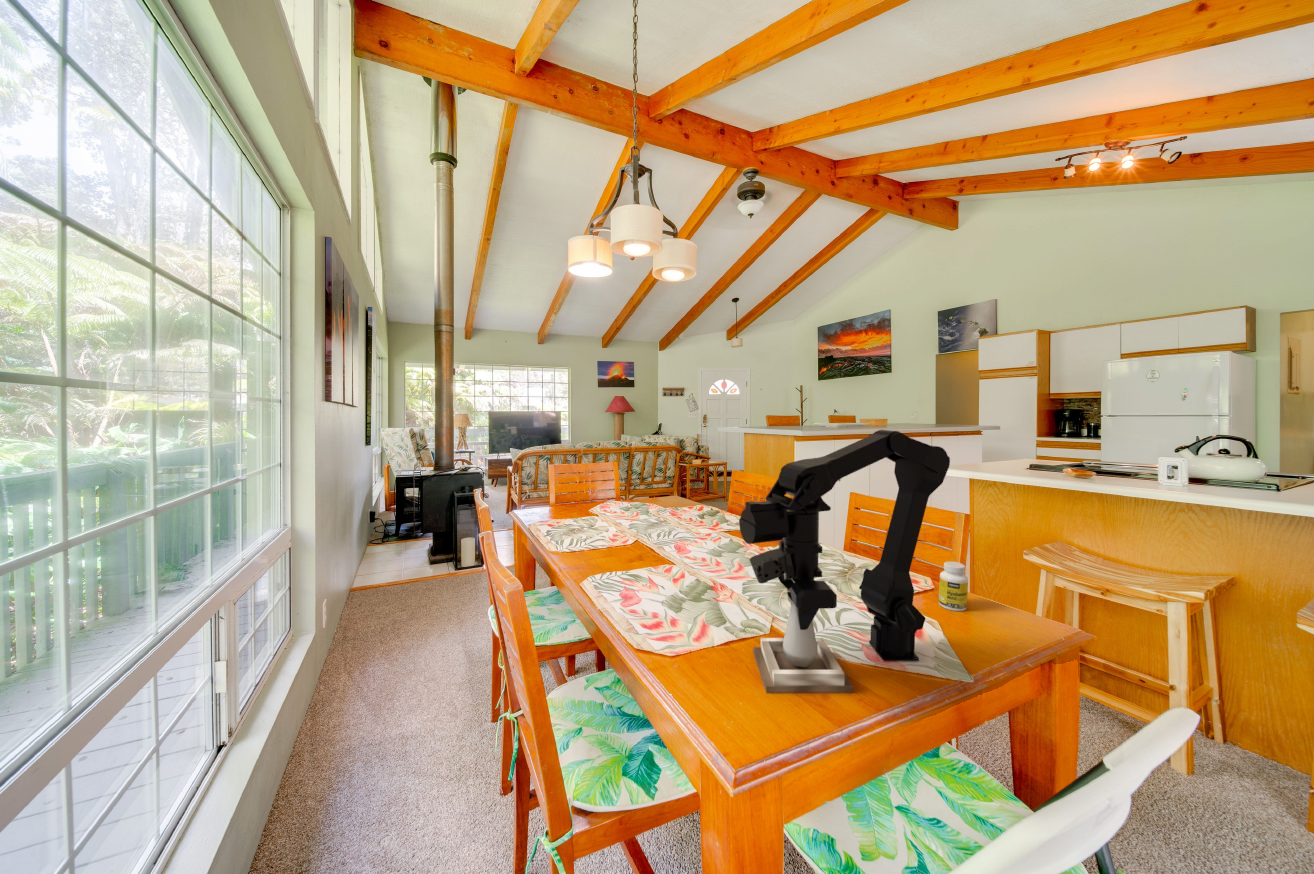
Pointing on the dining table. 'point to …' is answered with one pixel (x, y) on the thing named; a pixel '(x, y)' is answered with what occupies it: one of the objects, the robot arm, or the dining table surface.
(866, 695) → the dining table surface
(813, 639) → the salt shaker
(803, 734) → the dining table surface
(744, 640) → the dining table surface
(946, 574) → the supplement bottle
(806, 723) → the dining table surface
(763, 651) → the shaker stand
